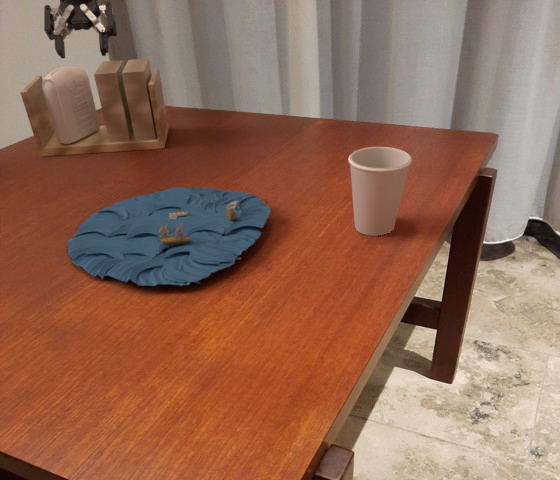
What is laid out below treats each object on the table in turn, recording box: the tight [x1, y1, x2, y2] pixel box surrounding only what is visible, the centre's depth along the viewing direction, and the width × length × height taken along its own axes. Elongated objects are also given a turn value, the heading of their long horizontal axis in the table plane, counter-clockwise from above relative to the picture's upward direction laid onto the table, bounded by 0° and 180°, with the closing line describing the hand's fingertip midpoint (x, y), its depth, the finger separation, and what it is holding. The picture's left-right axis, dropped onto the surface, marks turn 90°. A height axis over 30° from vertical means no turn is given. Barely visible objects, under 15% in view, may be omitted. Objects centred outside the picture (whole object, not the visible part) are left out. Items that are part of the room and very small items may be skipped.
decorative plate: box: [67, 186, 272, 287], centre depth 78 cm, size 30×30×5 cm
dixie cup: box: [348, 146, 413, 237], centre depth 77 cm, size 8×8×10 cm
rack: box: [19, 58, 169, 158], centre depth 108 cm, size 24×12×14 cm, turn 95°
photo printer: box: [42, 65, 101, 144], centre depth 107 cm, size 10×4×12 cm, turn 158°
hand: (82, 54), depth 115 cm, fingers open, 8 cm apart
